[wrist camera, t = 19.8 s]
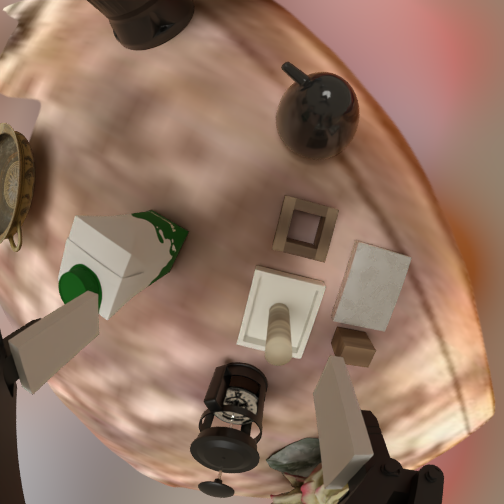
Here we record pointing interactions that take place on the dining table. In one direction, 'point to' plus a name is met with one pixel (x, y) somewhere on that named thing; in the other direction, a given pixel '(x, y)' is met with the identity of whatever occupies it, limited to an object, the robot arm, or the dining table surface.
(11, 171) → the ceramic bowl
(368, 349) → the wooden block
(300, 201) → the socket block
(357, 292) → the plate
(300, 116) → the pump dispenser
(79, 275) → the milk carton
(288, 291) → the tray
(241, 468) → the french press
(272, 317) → the dowel
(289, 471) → the rose bouquet
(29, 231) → the dining table surface
